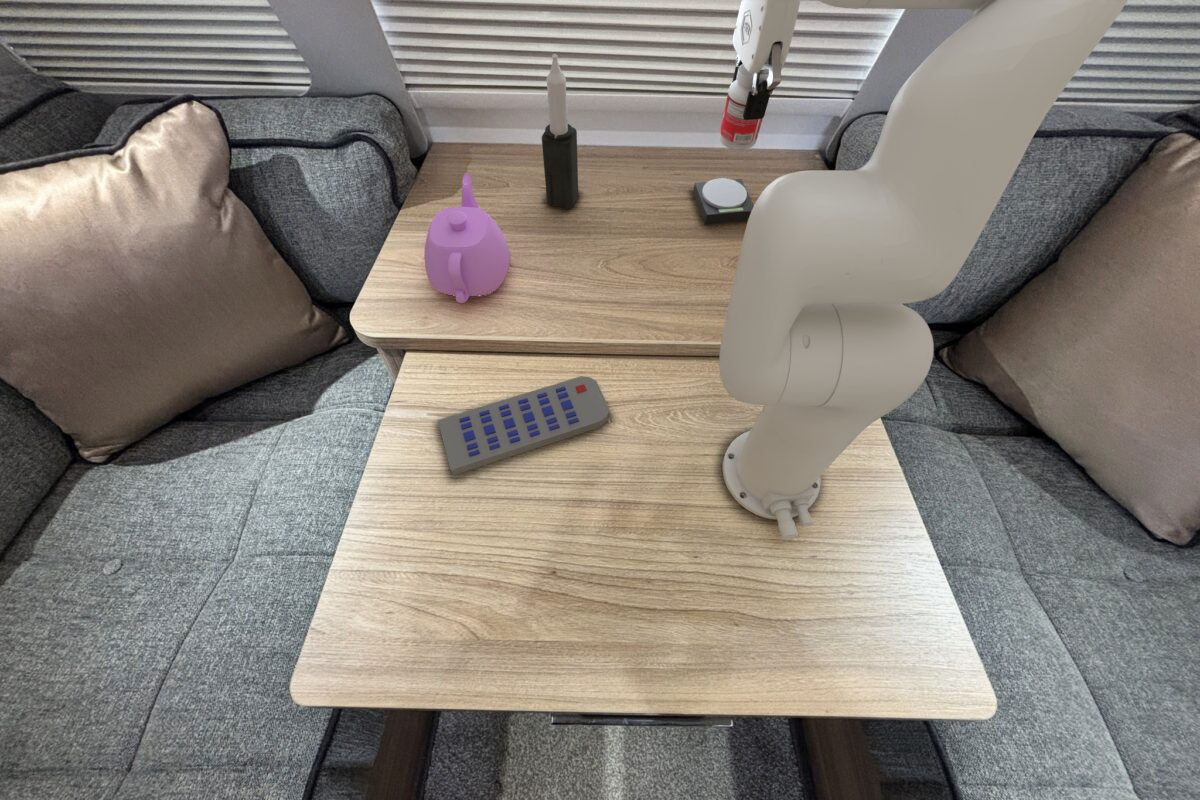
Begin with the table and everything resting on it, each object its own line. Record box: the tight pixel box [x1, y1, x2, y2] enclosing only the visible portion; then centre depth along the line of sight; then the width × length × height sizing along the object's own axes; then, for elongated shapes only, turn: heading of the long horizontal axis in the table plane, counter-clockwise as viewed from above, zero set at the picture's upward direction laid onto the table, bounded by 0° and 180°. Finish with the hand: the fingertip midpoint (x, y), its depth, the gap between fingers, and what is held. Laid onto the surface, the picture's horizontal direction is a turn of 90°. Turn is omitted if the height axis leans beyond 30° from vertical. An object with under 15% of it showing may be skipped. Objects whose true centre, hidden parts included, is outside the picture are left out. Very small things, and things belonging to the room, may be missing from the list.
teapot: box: [423, 172, 511, 304], centre depth 84 cm, size 20×13×12 cm, turn 1°
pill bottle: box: [718, 64, 769, 151], centre depth 83 cm, size 6×6×11 cm
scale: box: [692, 177, 755, 226], centre depth 97 cm, size 9×9×3 cm
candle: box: [541, 53, 579, 210], centre depth 88 cm, size 5×5×25 cm
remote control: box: [437, 375, 611, 476], centre depth 73 cm, size 8×23×2 cm, turn 111°
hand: (746, 104), depth 83 cm, fingers closed on pill bottle, 6 cm apart
